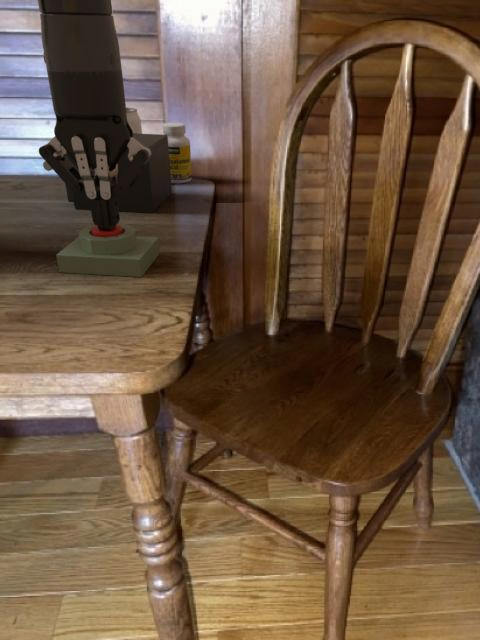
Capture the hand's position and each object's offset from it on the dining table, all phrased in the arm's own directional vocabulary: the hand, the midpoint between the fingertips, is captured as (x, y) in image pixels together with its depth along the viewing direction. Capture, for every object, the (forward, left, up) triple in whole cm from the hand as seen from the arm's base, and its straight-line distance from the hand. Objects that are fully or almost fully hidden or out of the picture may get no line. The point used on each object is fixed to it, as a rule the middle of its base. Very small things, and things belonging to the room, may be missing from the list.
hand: (107, 228), depth 68 cm
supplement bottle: (-2, +42, -5) cm, 42 cm away
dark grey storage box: (-7, +27, -4) cm, 28 cm away
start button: (0, 0, -2) cm, 2 cm away
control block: (0, 0, -4) cm, 4 cm away
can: (-11, +41, -5) cm, 43 cm away
